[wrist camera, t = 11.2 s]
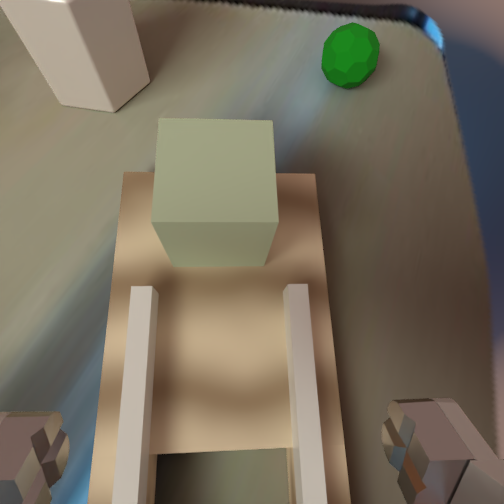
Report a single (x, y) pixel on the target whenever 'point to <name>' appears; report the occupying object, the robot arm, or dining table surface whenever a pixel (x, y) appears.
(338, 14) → the dining table surface
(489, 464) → the robot arm
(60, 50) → the jar
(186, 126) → the block
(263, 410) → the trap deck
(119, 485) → the channel rails
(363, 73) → the polyhedron
